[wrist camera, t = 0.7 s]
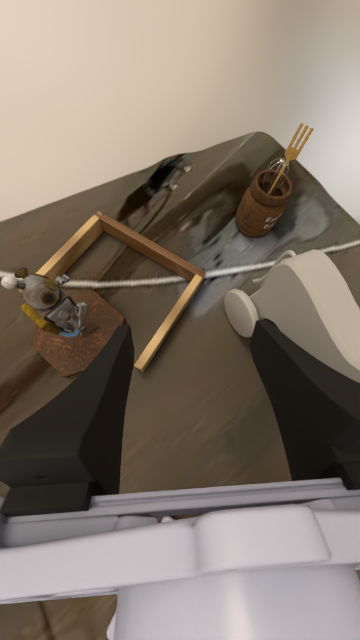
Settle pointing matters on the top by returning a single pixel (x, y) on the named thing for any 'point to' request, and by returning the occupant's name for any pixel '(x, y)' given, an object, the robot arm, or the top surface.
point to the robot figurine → (65, 321)
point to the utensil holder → (267, 195)
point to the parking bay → (143, 245)
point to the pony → (304, 309)
